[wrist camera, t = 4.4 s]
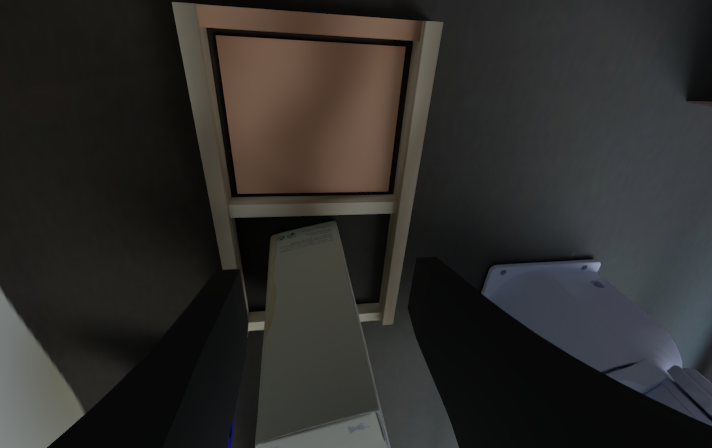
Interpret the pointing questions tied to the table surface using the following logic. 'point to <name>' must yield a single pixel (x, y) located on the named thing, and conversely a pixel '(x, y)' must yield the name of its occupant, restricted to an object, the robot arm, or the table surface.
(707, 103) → the greeting card
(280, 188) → the pink framed panel
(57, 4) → the table surface
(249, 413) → the table surface
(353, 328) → the skincare box
